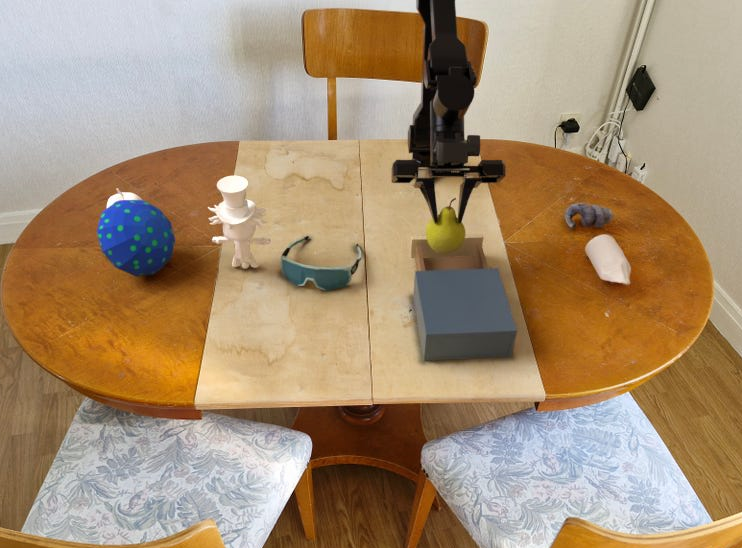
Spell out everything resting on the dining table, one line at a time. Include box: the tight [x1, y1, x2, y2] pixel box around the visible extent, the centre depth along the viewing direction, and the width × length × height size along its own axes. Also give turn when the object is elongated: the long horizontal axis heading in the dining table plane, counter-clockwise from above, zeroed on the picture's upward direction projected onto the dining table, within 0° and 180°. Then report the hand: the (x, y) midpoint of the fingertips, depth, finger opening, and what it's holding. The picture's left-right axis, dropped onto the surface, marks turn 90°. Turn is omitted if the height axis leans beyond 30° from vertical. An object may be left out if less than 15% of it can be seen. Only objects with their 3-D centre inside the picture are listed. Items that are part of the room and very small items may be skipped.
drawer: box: [409, 233, 489, 271], centre depth 125 cm, size 16×13×4 cm
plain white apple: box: [106, 187, 143, 209], centre depth 134 cm, size 7×7×8 cm
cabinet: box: [412, 267, 518, 362], centre depth 117 cm, size 16×15×6 cm
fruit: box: [425, 197, 466, 254], centre depth 118 cm, size 7×7×12 cm
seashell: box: [563, 202, 615, 230], centre depth 138 cm, size 5×5×10 cm
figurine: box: [207, 175, 271, 270], centre depth 121 cm, size 10×8×18 cm
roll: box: [584, 234, 632, 286], centre depth 127 cm, size 6×12×6 cm, turn 8°
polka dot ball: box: [96, 199, 176, 278], centre depth 124 cm, size 14×14×15 cm
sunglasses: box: [280, 235, 362, 292], centre depth 128 cm, size 14×15×5 cm
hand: (447, 223), depth 117 cm, fingers closed on fruit, 4 cm apart
